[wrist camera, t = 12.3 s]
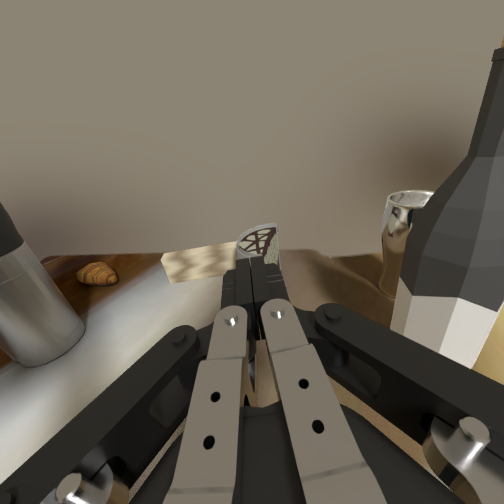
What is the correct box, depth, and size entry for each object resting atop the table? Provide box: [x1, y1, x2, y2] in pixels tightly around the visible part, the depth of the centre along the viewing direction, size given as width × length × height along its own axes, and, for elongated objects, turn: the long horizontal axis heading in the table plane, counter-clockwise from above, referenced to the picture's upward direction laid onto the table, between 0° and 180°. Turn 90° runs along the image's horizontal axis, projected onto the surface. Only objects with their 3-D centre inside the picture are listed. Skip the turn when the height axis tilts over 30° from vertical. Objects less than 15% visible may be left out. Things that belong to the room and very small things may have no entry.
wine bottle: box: [390, 38, 504, 369], centre depth 20 cm, size 8×8×30 cm
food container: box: [236, 223, 281, 270], centre depth 42 cm, size 12×6×10 cm, turn 164°
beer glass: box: [378, 190, 434, 298], centre depth 34 cm, size 7×7×15 cm
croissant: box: [77, 262, 118, 286], centre depth 55 cm, size 14×7×5 cm, turn 66°
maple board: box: [161, 241, 238, 283], centre depth 49 cm, size 22×2×6 cm, turn 93°
